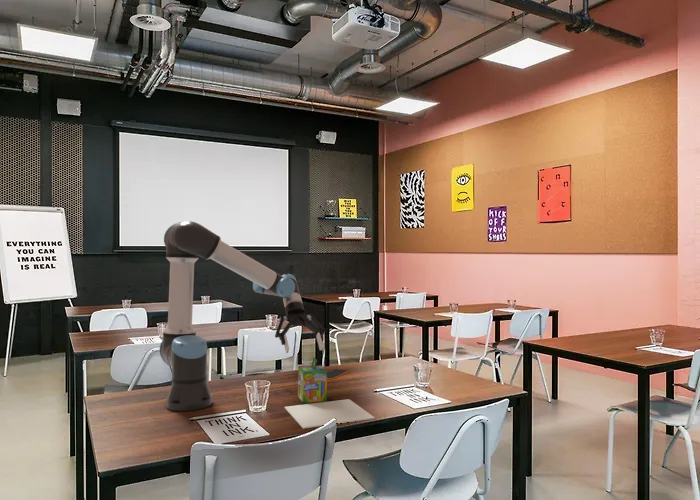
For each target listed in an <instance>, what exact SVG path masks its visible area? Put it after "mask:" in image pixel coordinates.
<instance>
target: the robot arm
mask: <svg viewBox="0 0 700 500" xmlns="http://www.w3.org/2000/svg"><path fill="white" fill-rule="evenodd" d="M163 242H164V246H165V248H166V249H165V251H166V253H165V256H166V257H165V259H166V260H167V261H168V262H169V286H168V287H169V289H168V306H167V307H168V311H167V312H168V314H167V315H168V316H167V327H166V328H165V329H164V330H163V331H162V332H163V333H162V340H161V343H160V346H159V355H160V358H161V360H162V361H163V362H164V363H165V364H166V365H167V366H169V367H171V386H170V389H169V392H168V394H167V395H168V396H167V398H166V409H167V410H169V411H175V412H189V411H190V412H191V411H192V412H193V411H197V410H202V409H205V408H208V407H209V406H211V405H212V403H213V397H212V396H213V395H212V392H211V390H210V388H209V384H208V380H207V379H208V376H207V373H208V372H207V371H208V367H207V366H208V365H207V364H208V352H207V351H208V345H207V341H206V339H205V338H204V337H202V336H199V335H197V330H196V329H195V328H194V327H193V304H194V282H195V281H194V278H195V263H196V262H197V261H198V260H199V257H201V258H202V259H205V260H206V261H207V260H212V261H213V262H216V263H217V264H220V265H221V266H223V267H224V268H226V269H229V270H230V271H232V272H234V273H236V274H237V275H239V276H241V277H243V278H245V279H246V280H249V281H250V282H252V290H253V291H254V292H255V293H259V294H264V295H269V296H275V297H276V296H277V297H280V298H282V301H283V305H284V310H285V314H286V315H284V314H281V315H280V316H279V324H278V326H277V328H276V332H275V334H274V337H275V338H276V339H277V338H279V340H280V343H281V345H282V346H284V349H285V350H284V351H285V353H286V354H288V353H289V350H290V346H289V341H288V337H287V333H288V332H289V330H290V329H291V328H292V327H302V326H303V327H304V328H307V329H308V330H309V331H311V332H312V333H314V334H315V335H316V337H315V338H316V342H317V344H318V348H319V351H323V348H324V343H323V342H324V335H325V333H326V330H327V329H326V328H325V327H324V326H323V325H322V324H321V322H319V320H318V319H317V318H316V317H315V314H314V313H312V312H311V313H309V314H306V311H305V307H304V304H303V300H302V297H301V293H300V289H299V284H298V281H297V279H296V276H294V274H290V273H287V274H286V273H284V274H282V275H281V274H280V273H277V272H276V271H274V270H273V269H270V268H269V267H267V266H266V265H263V264H262V263H260V262H259V261H257V260H256V259H254V258H252V257H250V256H248V254H247V255H246V254H244V253H243V252H241V251H240V250H238V249H236V248H234V247H232V246H231V245H229V244H228V243H226V242H224V241H222V238H221V236H219V235H218V234H216V233H215V232H212V231H211V230H210V229H208V228H207V227H205V226H204V225H201V224H200V223H197V222H195V221H191V220H190V221H182V222H176V223H173V224H172V225H170V226H169V227H168V228H167V229H166V231H165V233H164V235H163ZM286 321H287V322H288V323H287V324H286V326H285V327H284V329H283V330H282V327H283V324H284V322H286ZM281 330H282V331H281Z"/></svg>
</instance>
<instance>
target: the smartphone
mask: <svg viewBox="0 0 700 500" xmlns="http://www.w3.org/2000/svg"><path fill="white" fill-rule="evenodd" d="M349 372H350V370H349V369H339V368H334V369H332V370H330V371H327V380H331V381H332V380H334V379H336V378H338V377H340V376H343V375H346V374H348V373H349Z"/></svg>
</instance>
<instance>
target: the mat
mask: <svg viewBox="0 0 700 500" xmlns="http://www.w3.org/2000/svg"><path fill="white" fill-rule="evenodd" d="M284 410H285V411H287V413H288V414H289V415H290V416H291V417H292V418H293V419H294V420H295V422H297V424H298V425H299V426H300V427H301V428H302V429H303V430H304V429H311V428H312V429H313V428H320V427H323V426H322V425H324V424H325V423H327V422H328V421H329V420H331V419H333V418H336V419H337V423H338V424H337V425H341V424H340V423H342V424H348V423H347V422H349V423H355V421H356V422H363V421H370V420H375V419H376V417H375V416H373V415H372V414H371V413H370V412H368V411H366V410H365V409H363V407H361V406H360V405H358V404H357V403H356V402H354V401H352V400H351V399H349V398H348V399H340V400H332V401H327V402H315V403H304V404H296V405H290V406H284Z"/></svg>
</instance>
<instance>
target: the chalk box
mask: <svg viewBox="0 0 700 500" xmlns="http://www.w3.org/2000/svg"><path fill="white" fill-rule="evenodd" d="M317 363H318V359H316V357H313V359H312V363H311V365H298V367H297V369H298V370H297V371H298V373H297V375H298V376H297V398H298V400H300V401H301V403H302V405H304V404H312V403H321V402H328V379H327V372H328V369H327V368H326V367H325V366H324V365H322V364H317Z"/></svg>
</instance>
